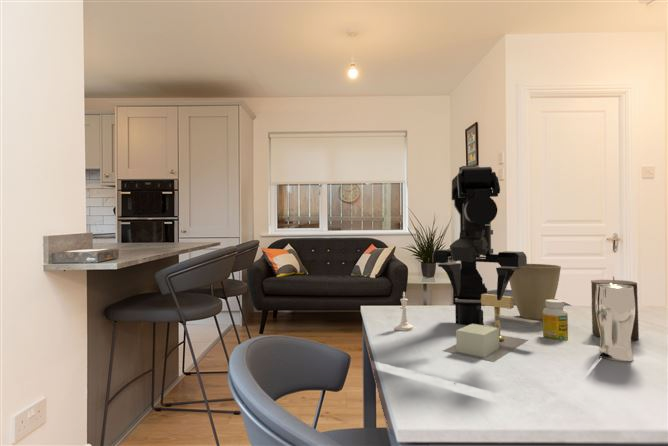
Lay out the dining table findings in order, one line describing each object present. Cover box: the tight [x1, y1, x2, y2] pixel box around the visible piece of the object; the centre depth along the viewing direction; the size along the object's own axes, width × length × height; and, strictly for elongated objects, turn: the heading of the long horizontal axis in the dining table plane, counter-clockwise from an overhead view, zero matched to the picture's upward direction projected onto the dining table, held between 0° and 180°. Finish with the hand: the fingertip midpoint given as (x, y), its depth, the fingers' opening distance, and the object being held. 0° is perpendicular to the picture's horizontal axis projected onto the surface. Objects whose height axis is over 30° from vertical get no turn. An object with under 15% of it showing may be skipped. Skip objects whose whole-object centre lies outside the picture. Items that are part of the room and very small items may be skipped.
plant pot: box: [509, 263, 561, 321], centre depth 125 cm, size 15×15×16 cm
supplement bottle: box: [542, 299, 569, 342], centre depth 99 cm, size 5×5×10 cm
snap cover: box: [455, 324, 499, 357], centre depth 88 cm, size 6×8×4 cm
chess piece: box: [394, 291, 414, 332], centre depth 112 cm, size 5×5×10 cm
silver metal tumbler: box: [595, 284, 635, 363], centre depth 86 cm, size 7×7×15 cm
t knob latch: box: [481, 293, 540, 341], centre depth 94 cm, size 3×12×10 cm, turn 42°
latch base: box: [442, 335, 529, 363], centre depth 91 cm, size 11×21×1 cm, turn 137°
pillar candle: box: [590, 276, 640, 342], centre depth 103 cm, size 10×10×15 cm
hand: (477, 297), depth 88 cm, fingers open, 9 cm apart
